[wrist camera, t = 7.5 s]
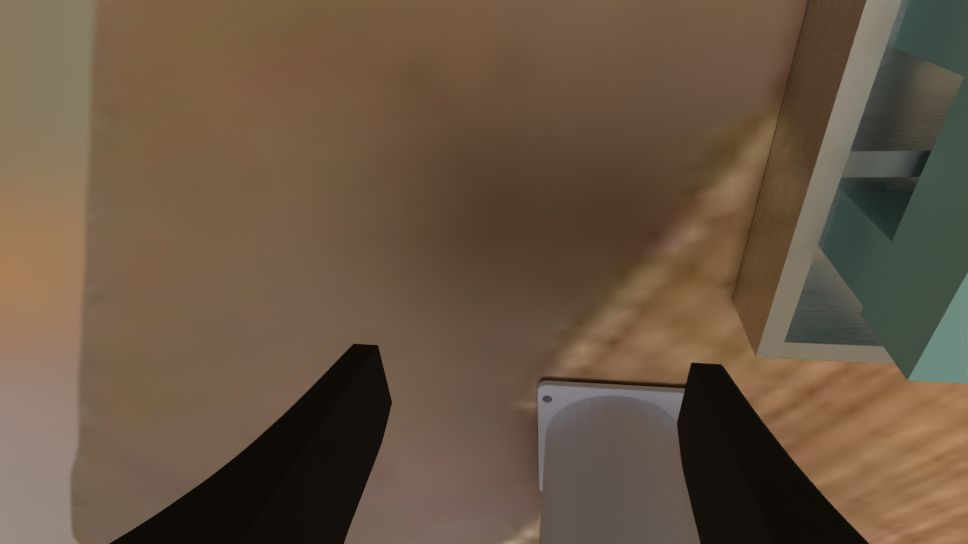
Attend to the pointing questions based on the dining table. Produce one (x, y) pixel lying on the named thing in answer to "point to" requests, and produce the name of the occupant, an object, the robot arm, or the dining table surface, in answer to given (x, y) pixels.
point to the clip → (917, 225)
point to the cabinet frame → (834, 174)
